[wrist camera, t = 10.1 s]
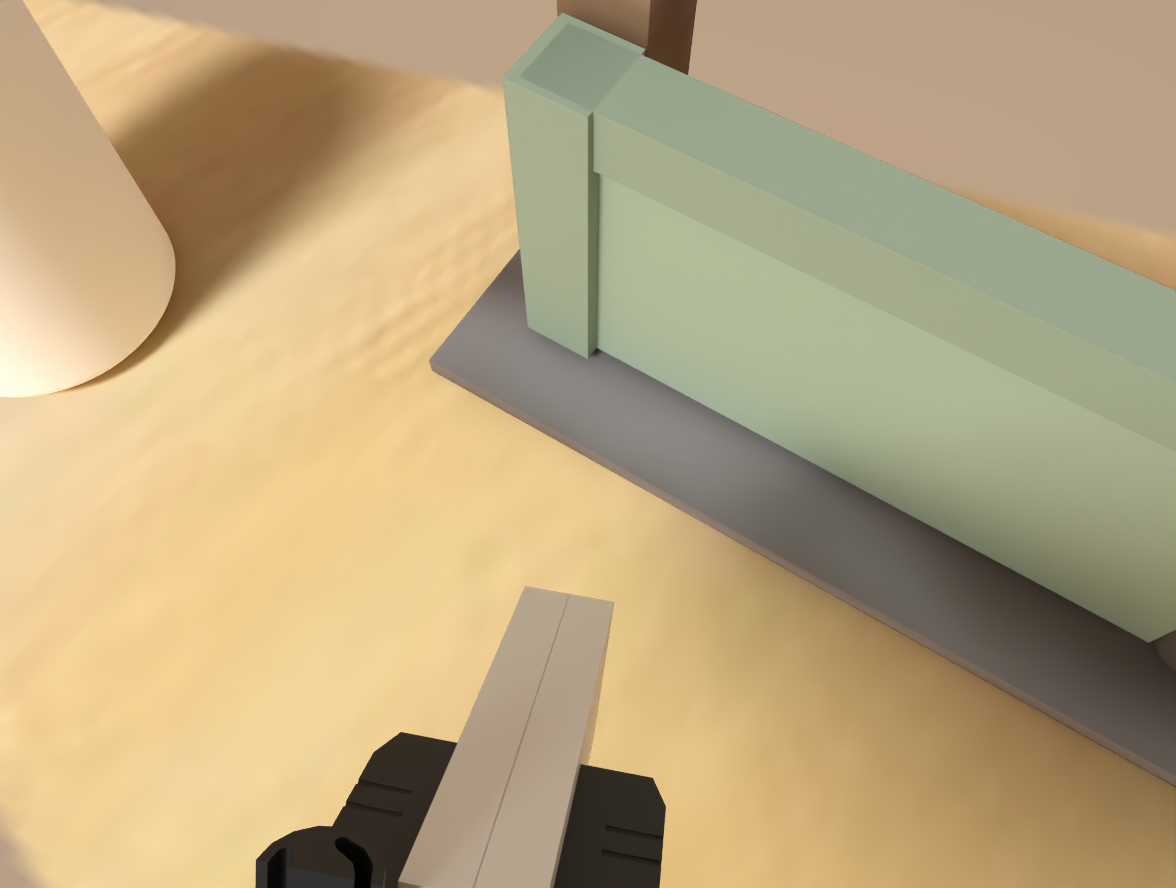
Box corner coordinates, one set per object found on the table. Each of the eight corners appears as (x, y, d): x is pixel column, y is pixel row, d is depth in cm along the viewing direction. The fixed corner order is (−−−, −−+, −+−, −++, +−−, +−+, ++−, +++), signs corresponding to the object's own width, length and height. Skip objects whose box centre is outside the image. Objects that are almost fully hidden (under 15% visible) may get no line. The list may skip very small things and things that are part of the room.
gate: (1223, 702, 24) (1585, 583, 15) (528, 326, 29) (502, 77, 21) (1248, 624, 25) (1604, 470, 16) (569, 273, 30) (562, 12, 21)
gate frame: (1332, 874, 23) (2316, 828, 10) (431, 370, 30) (306, -64, 16) (1397, 607, 26) (2219, 300, 13) (567, 202, 33) (553, -280, 20)
